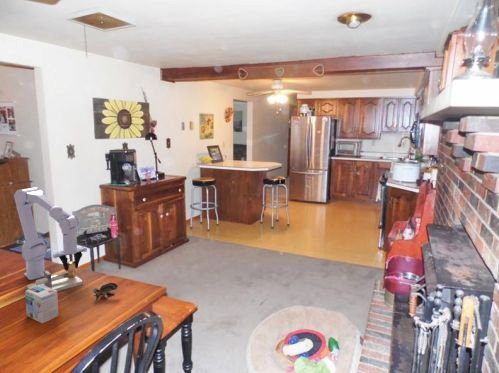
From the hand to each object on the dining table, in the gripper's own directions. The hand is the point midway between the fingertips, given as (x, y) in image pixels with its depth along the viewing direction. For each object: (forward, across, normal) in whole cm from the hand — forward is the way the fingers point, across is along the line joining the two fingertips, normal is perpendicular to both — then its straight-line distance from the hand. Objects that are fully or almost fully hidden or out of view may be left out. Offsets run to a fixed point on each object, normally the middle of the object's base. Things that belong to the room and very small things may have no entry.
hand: (71, 268), depth 163 cm
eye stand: (+7, -7, 0) cm, 10 cm away
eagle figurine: (+7, +5, -25) cm, 27 cm away
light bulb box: (+7, -19, -24) cm, 31 cm away
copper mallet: (+4, -6, 0) cm, 8 cm away
